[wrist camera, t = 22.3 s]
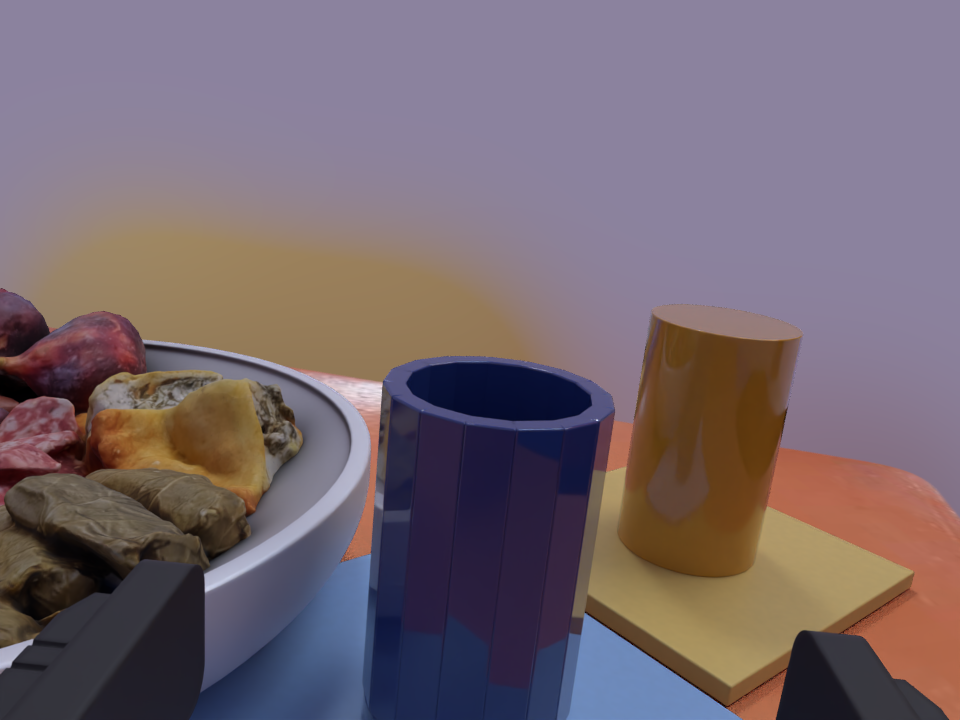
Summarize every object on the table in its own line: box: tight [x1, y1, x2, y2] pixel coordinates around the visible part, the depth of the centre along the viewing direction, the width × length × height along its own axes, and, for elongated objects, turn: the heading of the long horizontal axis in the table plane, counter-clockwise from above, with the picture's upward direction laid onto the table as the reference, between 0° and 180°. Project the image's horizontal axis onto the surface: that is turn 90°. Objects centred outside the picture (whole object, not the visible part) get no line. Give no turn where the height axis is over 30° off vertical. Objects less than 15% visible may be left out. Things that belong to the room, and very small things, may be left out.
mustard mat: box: [585, 466, 914, 706], centre depth 36 cm, size 14×14×1 cm
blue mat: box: [189, 554, 743, 720], centre depth 24 cm, size 16×16×1 cm
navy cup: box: [362, 356, 615, 720], centre depth 23 cm, size 6×6×10 cm
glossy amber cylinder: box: [617, 304, 803, 577], centre depth 34 cm, size 6×6×10 cm
